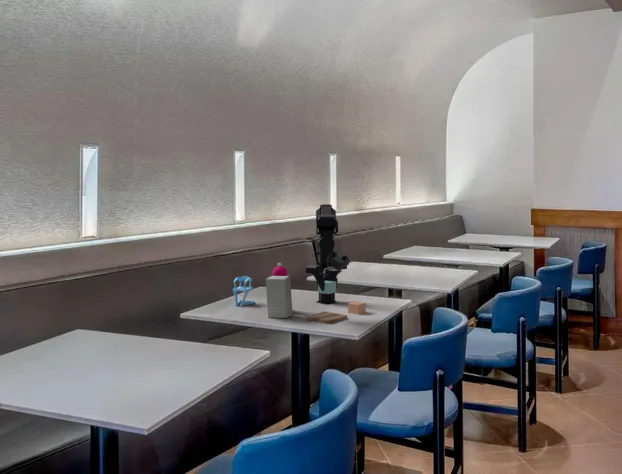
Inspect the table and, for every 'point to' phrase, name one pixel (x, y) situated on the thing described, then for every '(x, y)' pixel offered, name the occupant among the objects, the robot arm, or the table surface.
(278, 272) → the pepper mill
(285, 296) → the skincare box
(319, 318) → the walnut board
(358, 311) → the tan brick
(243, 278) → the chair
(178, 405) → the table surface
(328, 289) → the teal brick
